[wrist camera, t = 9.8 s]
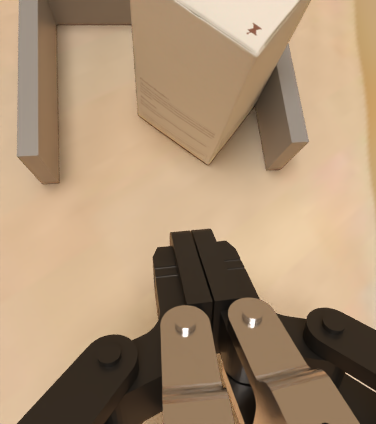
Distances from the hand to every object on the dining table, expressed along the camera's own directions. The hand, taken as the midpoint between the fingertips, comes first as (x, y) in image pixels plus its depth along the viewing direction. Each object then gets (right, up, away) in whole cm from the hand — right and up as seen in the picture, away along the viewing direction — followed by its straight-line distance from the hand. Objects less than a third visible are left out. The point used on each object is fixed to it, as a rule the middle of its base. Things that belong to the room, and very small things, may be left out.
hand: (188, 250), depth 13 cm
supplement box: (+1, +10, +15) cm, 18 cm away
